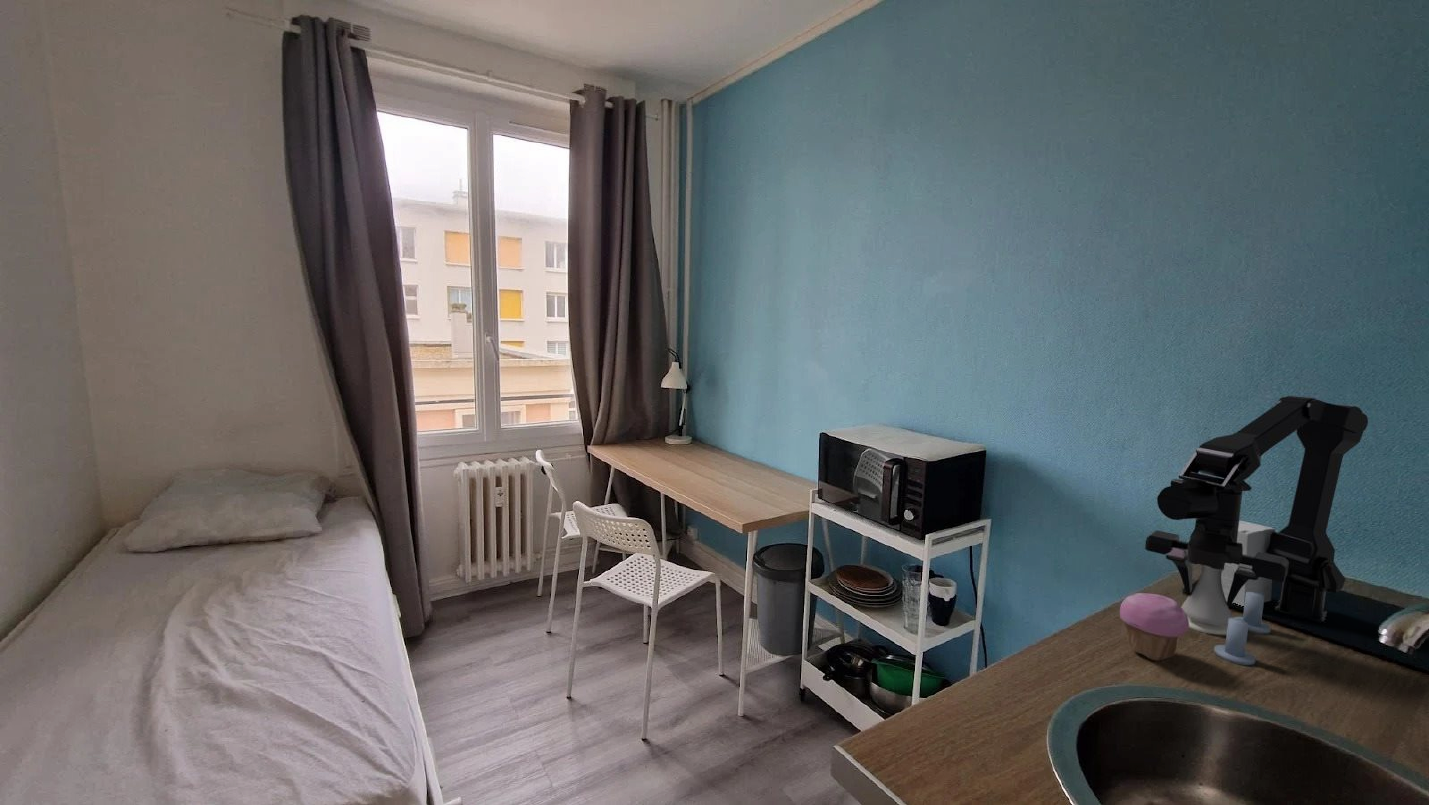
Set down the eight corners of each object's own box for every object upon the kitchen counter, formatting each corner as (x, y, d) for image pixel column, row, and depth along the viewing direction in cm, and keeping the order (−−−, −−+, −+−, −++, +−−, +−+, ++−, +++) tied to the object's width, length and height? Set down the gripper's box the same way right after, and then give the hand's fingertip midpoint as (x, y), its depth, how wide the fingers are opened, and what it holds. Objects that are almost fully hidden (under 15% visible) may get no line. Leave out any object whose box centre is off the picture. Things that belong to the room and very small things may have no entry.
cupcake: (1195, 661, 93) (1202, 601, 92) (1166, 675, 89) (1172, 613, 88) (1134, 635, 101) (1139, 580, 100) (1105, 647, 97) (1110, 590, 96)
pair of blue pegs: (1235, 617, 108) (1239, 586, 107) (1272, 627, 104) (1276, 595, 104) (1210, 655, 95) (1215, 620, 94) (1252, 669, 91) (1256, 632, 90)
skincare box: (1237, 591, 119) (1240, 519, 118) (1273, 602, 113) (1277, 527, 112) (1209, 597, 116) (1212, 523, 115) (1245, 608, 111) (1249, 531, 110)
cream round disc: (1177, 606, 112) (1177, 603, 112) (1239, 624, 105) (1239, 621, 105) (1164, 620, 106) (1164, 617, 106) (1229, 640, 100) (1229, 637, 100)
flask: (1243, 629, 100) (1249, 574, 99) (1194, 625, 102) (1200, 570, 101) (1217, 610, 107) (1223, 558, 106) (1172, 606, 109) (1177, 554, 108)
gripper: (1140, 511, 104) (1132, 595, 106) (1285, 540, 90) (1273, 635, 92) (1157, 500, 111) (1149, 578, 113) (1294, 525, 97) (1283, 614, 99)
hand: (1208, 600), depth 104 cm, fingers closed on flask, 5 cm apart
